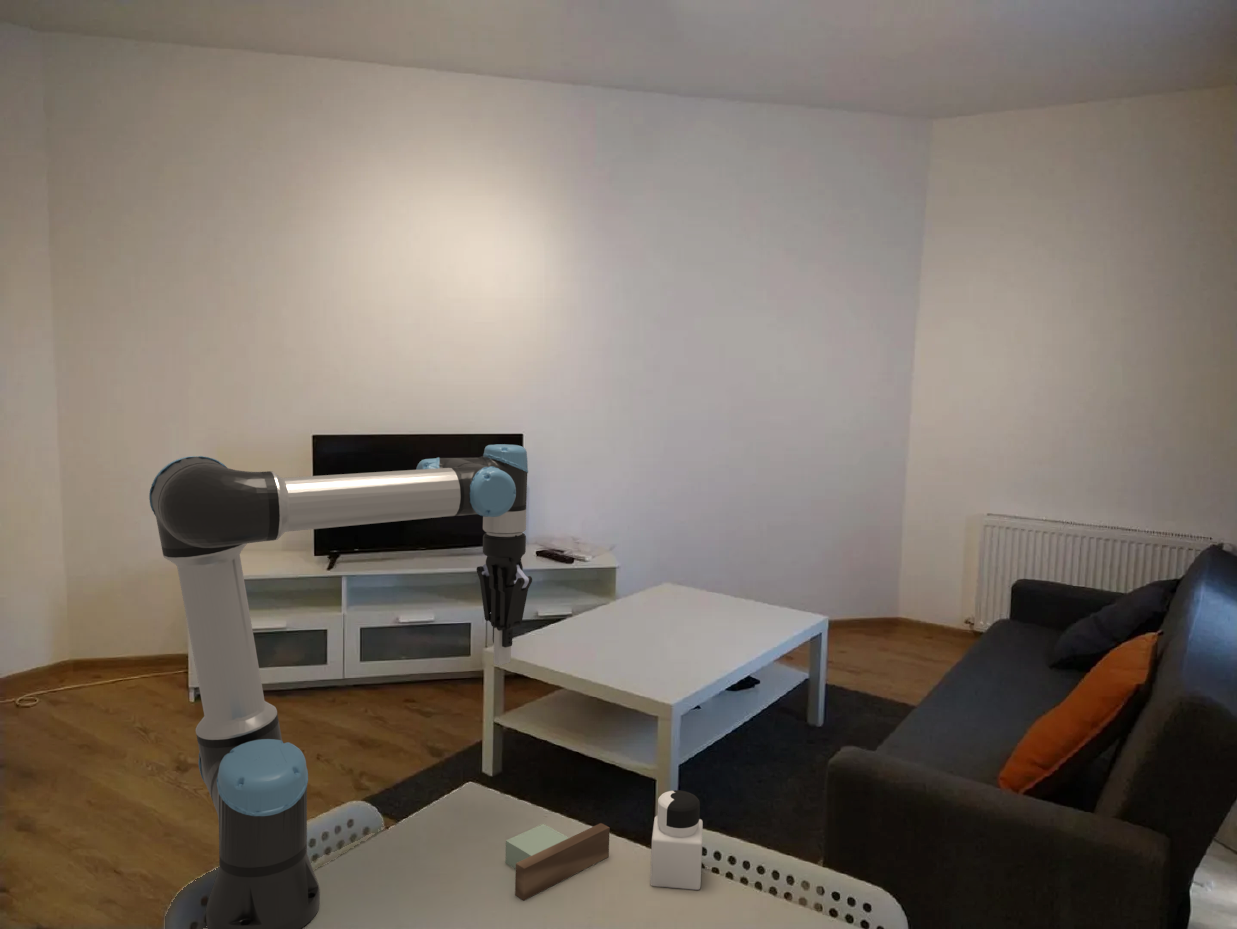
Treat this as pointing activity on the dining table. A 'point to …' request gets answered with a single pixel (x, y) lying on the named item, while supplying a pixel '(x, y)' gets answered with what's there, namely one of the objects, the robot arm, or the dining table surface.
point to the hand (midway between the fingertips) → (502, 662)
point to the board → (561, 861)
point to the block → (531, 843)
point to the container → (677, 842)
